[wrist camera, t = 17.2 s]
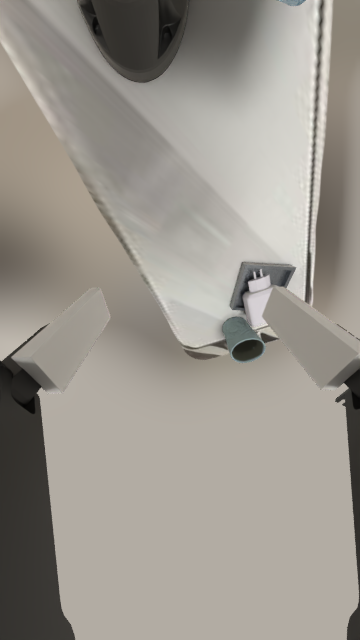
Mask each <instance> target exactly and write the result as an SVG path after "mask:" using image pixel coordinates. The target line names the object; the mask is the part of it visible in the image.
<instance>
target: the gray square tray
mask: <svg viewBox="0 0 360 640" xmlns="http://www.w3.org/2000/svg"><path fill="white" fill-rule="evenodd" d="M260 269H262V274H263V275H268V274H269V276H270V283H271V284H274V285H277V286H279V287H284V288H287V286H288V283H289V281H290V279H291V277H292V275H293V273H294V271H295V269H296V267H294V266H292V265H281V264H263V263H246V262H242V265H241V269H240V272H239V276H238V279H237V283H236V286H235V290H234V293H233V297H232V300H231V304H230V307H231V309H232V310H245V307H244V302H243V298H242V296H243V295H244V293H245V292H247V291H250V290H249V285H248V281H250V280H252V279H254V275H253V272H254V271H255V273H256V278H257V277H260V276H261V275H260Z"/></svg>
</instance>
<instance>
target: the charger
mask: <svg viewBox="0 0 360 640" xmlns="http://www.w3.org/2000/svg"><path fill="white" fill-rule="evenodd" d="M253 275H254V279H252V280H250V281H248V285H249V290H250V291H247V292H245V293H244V295H243V296H242V298H243V302H244V307H245V312H246V316H247V321H248V323H249V324H250V325H251V326H253V327H256V326H260V325H263V324H266V323H267V322H266V321H265V320H264V319H263V317H262V314H263V312H264V309H265V306H266V304H267V301H268V299H269V296H270V294H271V291H272V289H273V287H279V286H277V285H274V284H271V283H270V276H269V274H268V275H263V274H262V269H260V275H261V276H260V277H257V278H256V273H255V271H254V272H253Z"/></svg>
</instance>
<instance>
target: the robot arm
mask: <svg viewBox="0 0 360 640" xmlns="http://www.w3.org/2000/svg"><path fill="white" fill-rule="evenodd" d="M278 1H280V2H283V3H285V4H287V5H290V6H298V5H300V4H302V3H303V2H304V1H306V0H278ZM77 2H78V4H79V7H80V10H81V12H82V15H83V17H84V19H85V21H86V24H87V26H88V28H89V30H90V32H91V34H92V36H93V39H94V41H95V42H96V44H97V46H98V48H99V50H100V51H101V53H102V54H103V56H104V57H105V58H106V60H107V61H108V62H109V64H110V65H111V66H112V67H113V68H114V69H115V70H116V71H117V72H119V73H120V74H121V75H123V76H124V77H126V78H128V79H130V80H132V81H136V82H147V81H150V80H153V79H155V78H157V77H158V76H160V75H161V74H162V73H163V72H164V71H165V70H166V69H167V68H168V66H169V65H170V63H171V62H172V60H173V58H174V57H175V55H176V52H177V50H178V48H179V45H180V43H181V39H182V36H183V33H184V29H185V24H186V19H187V13H188V5H189V0H77ZM262 317H263V319H264V320H265V321H266V322H267V324H268V325H269V326H270V327H271V329H272V330H273V331H274V332H275V334H276V335H277V336H278V337H279V339H280V340H281V341H282V342H283V343H284V345H285V346H286V347H287V349H288V350H289V351H290V352H291V353H292V355H293V356H294V357H295V358H296V360H297V361H298V362H299V363H300V365H301V366H302V367H303V368H304V370H305V371H306V372H307V373H308V375H309V376H310V377H311V378H312V380H313V381H314V382H315V383H316V385H317V386H318V387H319V388H320V390H336V389H337V388H338V387H339V386H340V385H342V384H343V383H345V384H346V385H347V386H348V387H349V389H348V390H346V391H345V392H344V393H343V394H341V395H340V396H339V397H337V398H336V401H335V402H340V401H341V400H342V399H345V403H343V404H342V405H343V406H345V407H346V417H347V431H348V443H349V444H348V445H349V458H350V473H351V487H352V499H353V500H352V501H353V514H354V528H355V542H356V556H357V569H358V582H359V583H358V584H359V603H358V608H357V609H356V610H355V611H354V613H353V614H352V615H351V617H350V619H349V623H348V627H347V628H348V629H347V640H360V340H359V339H358V338H355V337H354V336H353V335H352V334H351V333H349V332H347V331H346V330H345V329H344V328H342V327H341V326H339V325H338V324H336V323H334V322H333V321H331V320H330V319H328V318H327V317H325V316H324V315H323V314H321V313H320V312H318V311H317V310H316V309H314V308H313V307H311V306H310V305H308V304H307V303H306V302H304V301H303V300H301V299H300V298H299V297H297V296H296V295H294V294H293V293H292V292H290V291H289V290H287V289H286V288H284V287H273V289H272V291H271V294H270V296H269V299H268V301H267V304H266V306H265V309H264V312H263V314H262ZM110 318H111V316H110V313H109V311H108V307H107V305H106V302H105V299H104V296H103V293H102V290H101V288H90V289H89V290H88V291H87V292H85V293H84V294H83V295H82V296H81V297H80V298H78V299H77V300H76V301H75V302H74V303H73V304H72V305H70V306H69V307H68V308H67V309H66V310H65V311H64V312H63V313H61V314H60V315H59V316H58V317H57V318H56V319H54V320H53V321H52V322H51V323H49V324H48V325H46V326H44V327H42V328H40V329H39V330H38V331H37V332H36V333H35V334H34V335H33V336H31V337H30V338H29V339H28V340H27V341H25V342H24V343H23V344H22V345H20V346H19V347H18V348H17V349H16V350H15V351H13V352H12V353H11V354H10V355H9V356H7V357H6V358H5V359H4V360H3V361H2V362H1V361H0V640H75V636H74V633H73V630H72V627H71V624H70V623H69V622H68V620H67V619H66V618H65V616H64V614H63V612H62V609H61V602H60V595H59V584H58V575H57V565H56V555H55V545H54V535H53V525H52V515H51V505H50V495H49V485H48V475H47V467H46V456H45V446H44V437H43V426H42V417H41V406H40V398H39V396H38V394H37V392H38V390H39V389H40V388H41V387H42V388H43V389H44V390H45V391H46V392H47V393H63V392H64V391H65V389H66V388H67V386H68V385H69V383H70V381H71V380H72V378H73V377H74V375H75V373H76V372H77V370H78V369H79V367H80V365H81V364H82V362H83V361H84V359H85V358H86V356H87V354H88V353H89V351H90V350H91V348H92V347H93V345H94V343H95V342H96V340H97V339H98V337H99V335H100V334H101V332H102V331H103V329H104V328H105V326H106V324H107V323H108V321H109V320H110Z"/></svg>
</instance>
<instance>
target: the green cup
mask: <svg viewBox="0 0 360 640" xmlns="http://www.w3.org/2000/svg"><path fill="white" fill-rule="evenodd" d="M222 330H223V333H224V335H225V339H226V341H227V345H228V349H229V352H230V355H231V358H232V359H233V360H235V361H237V362H240V363H247V362H251V361H254V360H256V359H258V358H259V357H260V356H262V355H263V353H264V351H265V348H266V346H265V344H264V342H263V341H262V340H261V339H260V337H259V336H258V335H257V334H256V333H255V331H254V330H252V328H251V327H250V326H249V324H248V323H247V322H246V321H245V320H244V319H243V318H241V317H234V318H230V319H228V320H227V321H226V322H225V323H224V325H223V328H222Z"/></svg>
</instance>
